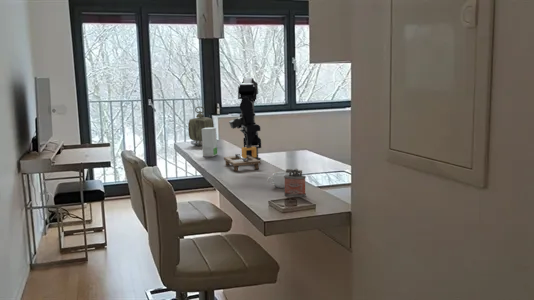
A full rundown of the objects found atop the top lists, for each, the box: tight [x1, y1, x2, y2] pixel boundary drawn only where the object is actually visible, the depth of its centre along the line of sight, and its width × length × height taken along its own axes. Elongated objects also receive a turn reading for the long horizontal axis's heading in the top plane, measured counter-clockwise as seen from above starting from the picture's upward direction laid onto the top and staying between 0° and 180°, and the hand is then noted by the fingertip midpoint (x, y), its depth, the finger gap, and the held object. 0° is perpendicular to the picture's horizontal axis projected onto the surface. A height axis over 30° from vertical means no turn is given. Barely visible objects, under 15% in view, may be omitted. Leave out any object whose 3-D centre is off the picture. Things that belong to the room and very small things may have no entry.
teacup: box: [267, 171, 293, 189], centre depth 201 cm, size 10×8×5 cm
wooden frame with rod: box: [223, 155, 261, 172], centre depth 247 cm, size 20×13×4 cm, turn 18°
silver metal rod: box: [234, 153, 248, 162], centre depth 246 cm, size 16×2×1 cm, turn 18°
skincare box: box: [201, 126, 218, 158], centre depth 283 cm, size 8×7×16 cm
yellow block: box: [241, 141, 257, 158], centre depth 232 cm, size 4×6×8 cm, turn 108°
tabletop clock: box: [187, 106, 215, 146], centre depth 323 cm, size 14×9×25 cm, turn 66°
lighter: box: [284, 168, 307, 198], centre depth 186 cm, size 8×3×10 cm, turn 71°
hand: (248, 145), depth 232 cm, fingers closed on yellow block, 2 cm apart
